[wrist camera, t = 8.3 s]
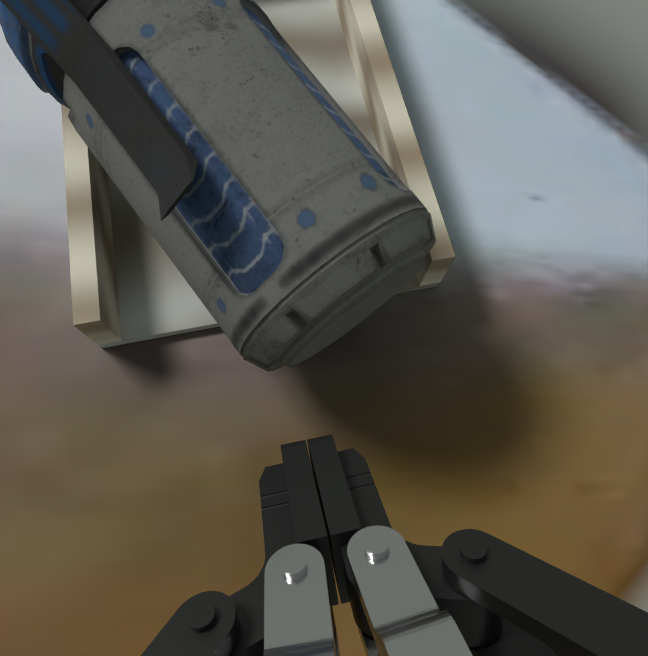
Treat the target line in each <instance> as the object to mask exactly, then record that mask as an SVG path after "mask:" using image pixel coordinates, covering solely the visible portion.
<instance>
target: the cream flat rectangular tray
mask: <svg viewBox="0 0 648 656" xmlns="http://www.w3.org/2000/svg"><path fill="white" fill-rule="evenodd" d="M255 2H256V3H257V4H258V5H259V6H260V8H261V9H262V10H263V11H264V12H265V14H266V15H267V16H268V18H269V19H270V21H271V22H272V24H273V25H274V27H275V28H276V29H277V31H278V32H279V33H280V34H281V36H282V37H283V38H284V39H285V40H286V42H287V43H288V44H289V45H290V47H291V48H292V49H293V50H294V51H295V53H296V54H297V55H298V56H299V57H300V59H301V60H302V61H303V62H304V64H305V65H306V66H307V67H308V68H309V70H310V71H311V72H312V73H313V74H314V76H315V77H316V78H317V79H318V80H319V82H320V83H321V84H322V85H323V87H324V88H325V89H326V90H327V91H328V93H329V94H330V95H331V96H332V97H333V99H334V100H335V101H336V102H337V103H338V105H339V106H340V107H341V108H342V110H343V111H344V112H345V113H346V114H347V116H348V117H349V118H350V119H351V120H352V122H353V123H354V124H355V125H356V126H357V128H358V129H359V130H360V131H361V133H362V134H363V135H364V136H365V137H366V139H367V140H368V141H369V142H370V143H371V145H372V146H373V147H374V148H375V150H376V151H377V152H378V153H379V154H380V156H381V157H382V158H383V159H384V160H385V162H386V163H387V164H388V165H389V166H390V168H391V169H392V170H393V171H394V173H395V174H396V175H397V176H398V177H399V179H400V180H401V181H402V182H403V183H404V184H405V185H406V187H407V188H409V189H410V190H411V191H412V192H413V193H414V194H415V195H416V196H417V198H418V199H419V200H420V201H421V202H422V204H423V205H424V206H425V207H426V208H427V210H428V212H429V213H431V218H432V223H433V227H434V232H435V237H436V242H435V244H434V246H433V247H432V249H431V250H430V251H429V253H428V254H427V255H425V261H426V263H425V264H424V266H423V267H422V269H421V270H420V271H419V272H418V273H417V274H416V275H415V276H414V277H413V278H412V279H411V280H410V281H409V282H408V283H407V284H406V285H405V286H404V287H403V288H402V289H400V290H399V291H398V292H397V293H396V294H398V293H404V292H409V291H415V290H420V289H425V288H431V287H436V286H439V284H440V282H441V281H442V279H443V277H444V276H445V274H446V272H447V270H448V269H449V267H450V265H451V264H452V262H453V260H454V258H455V257H456V256H455V253H454V250H453V247H452V244H451V241H450V238H449V235H448V232H447V229H446V226H445V223H444V220H443V217H442V214H441V211H440V208H439V205H438V202H437V199H436V196H435V193H434V190H433V187H432V184H431V181H430V178H429V175H428V172H427V169H426V166H425V163H424V160H423V157H422V154H421V151H420V148H419V145H418V142H417V139H416V136H415V133H414V130H413V127H412V124H411V121H410V118H409V115H408V112H407V109H406V106H405V103H404V100H403V97H402V94H401V91H400V88H399V85H398V82H397V79H396V76H395V73H394V70H393V67H392V64H391V61H390V58H389V55H388V52H387V49H386V46H385V43H384V40H383V37H382V34H381V31H380V28H379V25H378V22H377V19H376V16H375V13H374V10H373V7H372V4H371V1H370V0H255ZM61 106H62V125H63V143H64V161H65V180H66V198H67V216H68V235H69V253H70V271H71V289H72V308H73V325H74V326H75V327H76V328H78V329H79V330H80V331H81V332H83V333H84V334H85V335H86V336H87V337H89V338H90V339H91V340H92V341H93V342H95V343H96V344H97V345H98V346H100V347H101V348H106V347H111V346H117V345H122V344H127V343H133V342H138V341H144V340H149V339H154V338H160V337H165V336H171V335H176V334H182V333H187V332H192V331H198V330H203V329H209V328H214V327H219V325H218V324H217V322H216V321H215V319H214V318H213V317H212V315H211V314H210V313H209V311H208V310H207V309H206V307H205V306H204V304H203V303H202V302H201V300H200V299H199V298H198V296H197V295H196V294H195V292H194V291H193V289H192V288H191V287H190V285H189V284H188V283H187V281H186V280H185V279H184V277H183V276H182V274H181V273H180V272H179V270H178V269H177V268H176V266H175V265H174V264H173V262H172V261H171V259H170V258H169V257H168V255H167V254H166V253H165V251H164V250H163V249H162V247H161V246H160V244H159V243H158V242H157V240H156V239H155V238H154V236H153V235H152V234H151V232H150V231H149V229H148V228H147V227H146V225H145V224H144V223H143V221H142V220H141V219H140V217H139V216H138V215H137V213H136V212H135V210H134V209H133V208H132V206H131V205H130V204H129V202H128V201H127V200H126V198H125V197H124V195H123V194H122V193H121V191H120V190H119V189H118V187H117V186H116V185H115V183H114V182H113V180H112V179H111V178H110V176H109V175H108V174H107V172H106V171H105V170H104V168H103V167H102V165H101V164H100V163H99V161H98V160H97V159H96V157H95V156H94V155H93V153H92V152H91V150H90V149H89V148H88V146H87V145H86V144H85V142H84V141H83V140H82V138H81V137H80V135H79V134H78V133H77V131H76V130H75V128H74V127H73V125H72V123H71V121H70V120H69V118H68V114H69V111H70V109H69V108H67V107H65V106H64V105H62V104H61Z"/></svg>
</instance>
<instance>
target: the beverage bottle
mask: <svg viewBox="0 0 648 656" xmlns="http://www.w3.org/2000/svg"><path fill="white" fill-rule="evenodd" d="M0 24H1V26H2V29H3V32H4V35H5V38H6V41H7V43H8V45H9V46H10V48H11V49H12V51H13V53H14V54H15V56H16V57H17V59H18V60H19V62H20V63H21V64H22V66H23V67H24V69H25V70H26V71H27V73H28V74H29V75H30V77H31V78H32V80H33V81H34V82H35V84H36V85H37V86H38V87H39V88H40V89H41V90H42V91H43V92H46V93H50V94H51V95H52V96H53V97H54V98H55V99H56V100H57V101H58V102H59V103H61V104H62V105H64V106H65V107H67V108H69V109H70V111H69V114H68V118H69V120H70V121H71V123H72V125H73V127H74V128H75V130H76V131H77V133H78V134H79V135H80V137H81V138H82V140H83V141H84V142H85V144H86V145H87V146H88V148H89V149H90V150H91V152H92V153H93V155H94V156H95V157H96V159H97V160H98V161H99V163H100V164H101V165H102V167H103V168H104V170H105V171H106V172H107V174H108V175H109V176H110V178H111V179H112V180H113V182H114V183H115V185H116V186H117V187H118V189H119V190H120V191H121V193H122V194H123V195H124V197H125V198H126V200H127V201H128V202H129V204H130V205H131V206H132V208H133V209H134V210H135V212H136V213H137V215H138V216H139V217H140V219H141V220H142V221H143V223H144V224H145V225H146V227H147V228H148V229H149V231H150V232H151V234H152V235H153V236H154V238H155V239H156V240H157V242H158V243H159V244H160V246H161V247H162V249H163V250H164V251H165V253H166V254H167V255H168V257H169V258H170V259H171V261H172V262H173V264H174V265H175V266H176V268H177V269H178V270H179V272H180V273H181V274H182V276H183V277H184V279H185V280H186V281H187V283H188V284H189V285H190V287H191V288H192V289H193V291H194V292H195V294H196V295H197V296H198V298H199V299H200V300H201V302H202V303H203V304H204V306H205V307H206V309H207V310H208V311H209V313H210V314H211V315H212V317H213V318H214V319H215V321H216V322H217V324H218V325H219V326H220V328H221V329H222V330H223V332H224V333H225V334H226V336H227V337H228V338H229V340H230V341H231V343H232V344H233V345H234V347H235V348H236V349H237V351H238V352H239V353H240V355H241V356H243V358H244V360H246V361H248V362H250V363H252V364H254V365H256V366H258V367H260V368H262V369H264V370H266V371H273V370H276V369H278V368H280V367H282V366H283V365H286V366H289V367H293V366H296V365H298V364H300V363H302V362H304V361H306V360H307V359H309V358H311V357H312V356H314V355H316V354H317V353H319V352H320V351H322V350H323V349H325V348H326V347H328V346H329V345H331V344H332V343H333V342H335V341H336V340H338V339H339V338H340V337H342V336H343V335H345V334H346V333H347V332H349V331H350V330H351V329H353V328H354V327H355V326H357V325H358V324H359V323H361V322H362V321H363V320H364V319H366V318H367V317H368V316H370V315H371V314H372V313H373V312H375V311H376V310H377V309H378V308H379V307H381V306H382V305H383V304H384V303H385V302H387V301H388V300H389V299H390V298H391V297H393V296H394V295H395V294H396V293H397V292H398V291H399V290H400V289H402V288H403V287H404V286H405V285H406V284H407V283H408V282H409V281H410V280H411V279H412V278H413V277H414V276H415V275H416V274H417V273H418V272H419V271H420V270H421V269H422V267H423V266H424V264H425V263H426V261H425V255H427V254H428V253H429V251H430V250H431V249H432V247H433V246H434V244H435V242H436V237H435V232H434V227H433V223H432V218H431V213H429V212H428V210H427V208H426V207H425V206H424V205H423V204H422V202H421V201H420V200H419V199H418V198H417V196H416V195H415V194H414V193H413V192H412V191H411V190H410V189H409V188H407V187H406V185H405V184H404V183H403V182H402V181H401V180H400V179H399V177H398V176H397V175H396V174H395V173H394V171H393V170H392V169H391V168H390V166H389V165H388V164H387V163H386V162H385V160H384V159H383V158H382V157H381V156H380V154H379V153H378V152H377V151H376V150H375V148H374V147H373V146H372V145H371V143H370V142H369V141H368V140H367V139H366V137H365V136H364V135H363V134H362V133H361V131H360V130H359V129H358V128H357V126H356V125H355V124H354V123H353V122H352V120H351V119H350V118H349V117H348V116H347V114H346V113H345V112H344V111H343V110H342V108H341V107H340V106H339V105H338V103H337V102H336V101H335V100H334V99H333V97H332V96H331V95H330V94H329V93H328V91H327V90H326V89H325V88H324V87H323V85H322V84H321V83H320V82H319V80H318V79H317V78H316V77H315V76H314V74H313V73H312V72H311V71H310V70H309V68H308V67H307V66H306V65H305V64H304V62H303V61H302V60H301V59H300V57H299V56H298V55H297V54H296V53H295V51H294V50H293V49H292V48H291V47H290V45H289V44H288V43H287V42H286V40H285V39H284V38H283V37H282V36H281V34H280V33H279V32H278V31H277V29H276V28H275V27H274V25H273V24H272V22H271V21H270V19H269V18H268V16H267V15H266V14H265V12H264V11H263V10H262V9H261V8H260V6H259V5H258V4H257V3H256V2H255V0H0Z"/></svg>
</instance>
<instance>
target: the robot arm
mask: <svg viewBox="0 0 648 656" xmlns="http://www.w3.org/2000/svg"><path fill="white" fill-rule="evenodd" d="M307 442H308V448H309V454H310V459H309V454H308V450H307V446H306V441H305V440H303V441H298V442H293V443H289V444H284V445H281V452H282V458H283V463H282V464H278V465H273V466H268V467H265V469H264V471H263V474H262V476H261V478H260V481H259V486H260V496H261V508H262V520H263V531H264V542H265V563H264V566H263V568H262V570H261V572H260V573H259V575H258V576H257V577H256V578H255V580H254V581H253V582H251V583H250V584H249V585H248V586H246V587H245V588H243V589H241V590H240V591H238V592H236V593H234V594H232V595H231V596H229V597H228V596H227V595H225V594H224V593H221V592H217V591H207V592H202V593H199V594H197V595H195V596H193V597H191V598H190V599H188V600H187V601H186V602H184V603H183V604H182V605H181V606H180V607H179V609H178V610H177V611H176V612H175V614H174V615H173V616H172V617H171V619H170V620H169V621H168V622H167V624H166V625H165V626H164V627H163V629H162V630H161V631H160V632H159V634H158V635H157V636H156V637H155V639H154V640H153V641H152V642H151V644H150V645H149V646H148V647H147V649H146V650H145V651H144V652H143V654H142V655H141V656H340V652H339V644H338V637H337V632H336V626H335V620H334V614H333V609H332V606H333V605H337V604H339V603H338V597H337V591H336V585H335V579H334V573H335V578H336V582H337V586H338V591H339V595H340V600H341V604H342V603H346V602H350V603H351V608H352V612H353V616H354V619H355V622H356V624H357V626H358V630H359V634H360V637H361V640H362V643H363V646H364V649H365V652H366V655H367V656H648V613H647V612H645V611H643V610H641V609H639V608H637V607H635V606H633V605H631V604H629V603H627V602H625V601H623V600H621V599H619V598H617V597H615V596H613V595H611V594H609V593H607V592H605V591H603V590H601V589H599V588H597V587H595V586H593V585H591V584H589V583H587V582H585V581H583V580H581V579H579V578H576V577H574V576H572V575H570V574H568V573H566V572H564V571H562V570H560V569H558V568H556V567H554V566H552V565H550V564H548V563H546V562H544V561H542V560H540V559H538V558H536V557H534V556H532V555H530V554H528V553H526V552H524V551H522V550H520V549H518V548H516V547H514V546H512V545H510V544H508V543H506V542H504V541H502V540H500V539H498V538H496V537H494V536H492V535H489V534H487V533H485V532H483V531H479V530H474V529H465V530H459V531H456V532H454V533H452V534H451V535H449V536H448V537H447V538H446V539H445V541H444V543H443V545H442V547H439V546H423V545H416V544H413V543H410V542H407V541H406V540H404V539H403V537H402V536H401V535H400V534H399V533H398V532H397V531H395V530H393V529H392V527H391V525H390V523H389V520H388V517H387V515H386V512H385V509H384V507H383V504H382V502H381V499H380V496H379V494H378V491H377V489H376V486H375V484H374V481H373V478H372V475H371V474H370V470H369V468H368V465H367V462H366V460H365V458H364V457H363V456H362V455H360V454H359V453H358V452H357V451H356V450H355V449H354V448H353V449H348V450H344V451H339V452H337V449H336V446H335V442H334V439H333V436H332V435H327V436H322V437H318V438H313V439H308V440H307ZM310 460H311V463H310ZM311 466H312V467H311ZM312 471H313V472H312ZM331 560H332V561H331ZM332 564H333V567H332ZM333 569H334V573H333Z"/></svg>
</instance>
